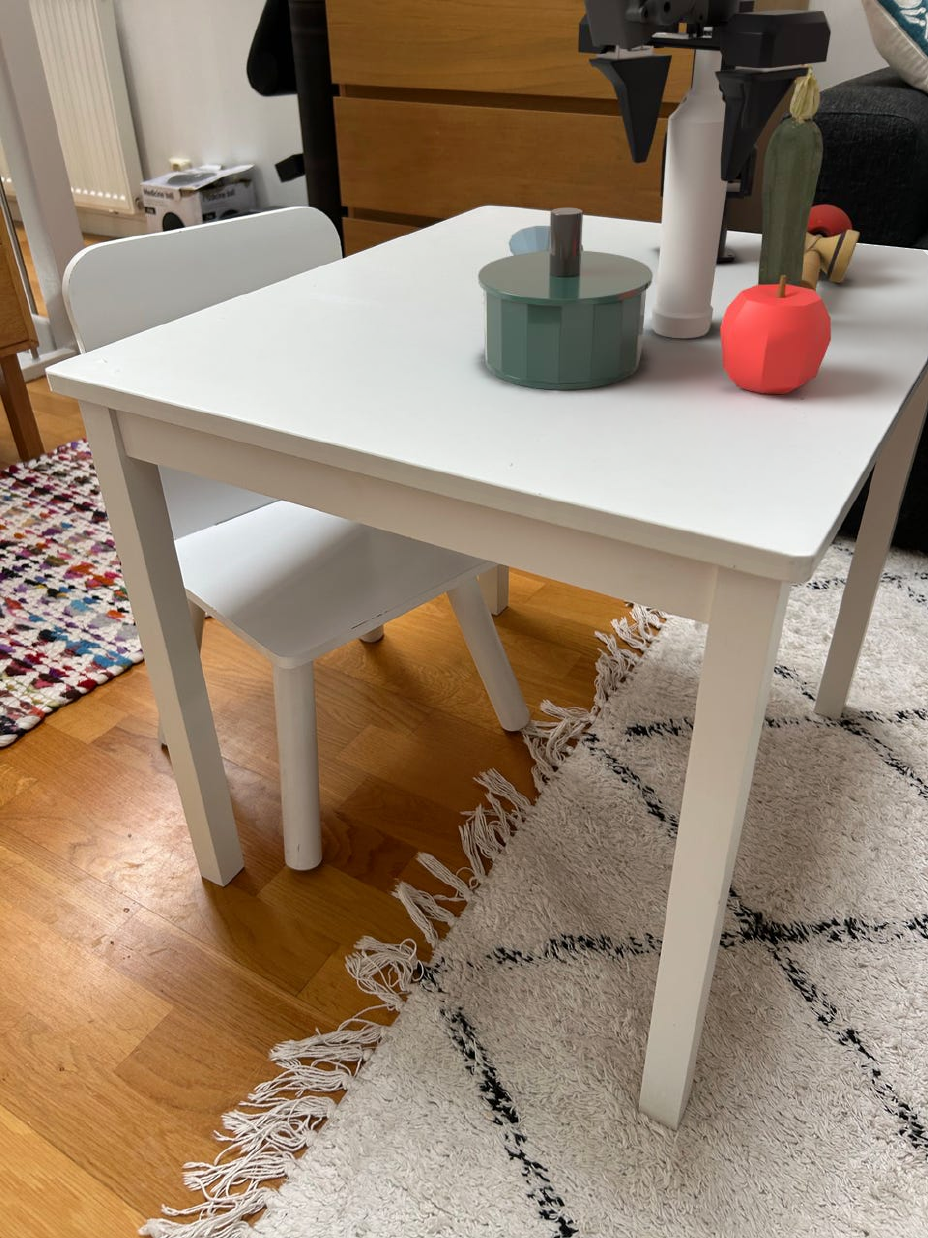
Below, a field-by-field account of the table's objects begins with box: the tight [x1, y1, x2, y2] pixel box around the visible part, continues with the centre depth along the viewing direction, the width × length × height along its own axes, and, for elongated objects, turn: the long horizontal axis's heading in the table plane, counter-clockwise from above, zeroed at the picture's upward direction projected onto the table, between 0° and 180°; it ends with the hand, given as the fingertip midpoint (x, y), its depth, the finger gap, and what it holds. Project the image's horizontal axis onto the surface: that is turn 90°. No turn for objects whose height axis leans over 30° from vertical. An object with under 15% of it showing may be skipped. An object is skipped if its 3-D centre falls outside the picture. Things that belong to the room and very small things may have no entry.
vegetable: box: [757, 63, 824, 287], centre depth 78 cm, size 4×4×20 cm
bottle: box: [651, 27, 728, 339], centre depth 76 cm, size 5×5×25 cm
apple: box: [719, 275, 832, 395], centre depth 71 cm, size 8×8×8 cm
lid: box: [477, 207, 654, 306], centre depth 73 cm, size 13×13×6 cm
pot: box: [483, 289, 647, 391], centre depth 76 cm, size 12×12×6 cm
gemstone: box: [508, 225, 584, 256], centre depth 96 cm, size 8×8×5 cm
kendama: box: [800, 204, 860, 293], centre depth 92 cm, size 8×6×18 cm
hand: (681, 171), depth 71 cm, fingers open, 9 cm apart
